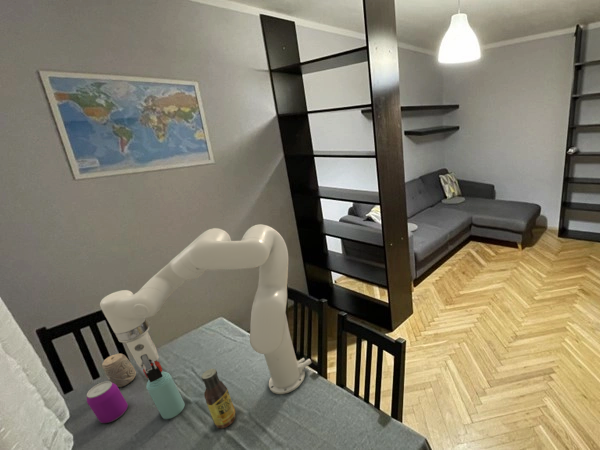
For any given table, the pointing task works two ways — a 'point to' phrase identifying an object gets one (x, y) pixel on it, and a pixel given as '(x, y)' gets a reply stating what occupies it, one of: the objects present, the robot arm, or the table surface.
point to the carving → (119, 370)
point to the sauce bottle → (218, 399)
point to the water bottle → (166, 396)
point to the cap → (156, 365)
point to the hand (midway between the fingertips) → (155, 374)
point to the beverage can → (106, 401)
